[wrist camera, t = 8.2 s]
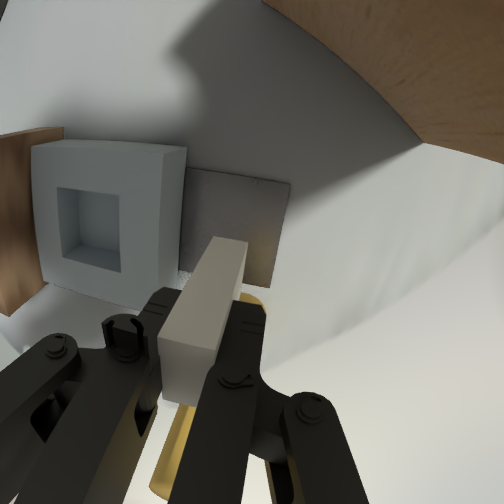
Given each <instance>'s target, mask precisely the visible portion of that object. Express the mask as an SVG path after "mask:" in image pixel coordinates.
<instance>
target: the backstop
mask: <svg viewBox="0 0 504 504" xmlns="http://www.w3.org/2000/svg"><path fill="white" fill-rule="evenodd" d="M63 128H64V127H46V128H36V129H30V130H24V131H19V132H14V133H9V134H4V135H0V313H2V314H4V315H6V316H8V317H10V316H11V315H12V314H13V313H14V312H15V311H16V310H17V309H18V308H20V307H21V306H22V305H23V304H24V303H25V302H26V301H28V300H29V299H30V298H31V297H32V296H33V295H35V294H36V293H37V292H38V291H39V290H41V289H42V288H43V287H44V286H45V285H47V284H48V282H46V281H43V276H42V270H41V265H40V259H39V252H38V246H37V238H36V231H35V222H34V211H33V199H32V181H31V146H35V145H40V144H44V143H49V142H54V141H59V140H63Z"/></svg>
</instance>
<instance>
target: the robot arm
mask: <svg viewBox="0 0 504 504" xmlns="http://www.w3.org/2000/svg"><path fill="white" fill-rule="evenodd" d="M6 3H7V0H0V19H1V16H2V14H3V11H4V9H5V6H6ZM247 247H248V242H244V241H239V240H233V239H228V238H222V237H216V236H213V238H212V240H211V241H210V243H209V245H208V247H207V248H206V250H205V252H204V253H203V255H202V257H201V259H200V260H199V262H198V264H197V266H196V267H195V269H194V271H193V273H192V274H191V276H190V278H189V280H188V282H187V283H186V285H185V287H184V289H183V290H178V289H173V288H168V287H162V288H161V289H159V290H157V291H156V292H154V293H153V294H152V296H151V297H150V299H149V300H148V302H147V304H146V305H145V306H144V307H143V309H142V311H141V312H140V313H139V315H138V316H136V315H132V314H117V315H114V316H111V317H109V318H107V319H106V320H105V321H103V322H102V323H101V324H102V329H103V334H104V339H105V344H106V347H105V348H104V349H90V348H78V346H77V343H76V341H75V340H74V339H73V337H71V336H69V335H67V334H62V333H56V334H51V335H48V336H46V337H45V338H43V339H41V340H40V341H39V342H38V343H36V344H35V345H34V346H32V347H31V348H30V349H29V350H27V351H26V352H25V353H23V354H22V355H21V356H20V357H18V358H17V359H16V360H15V361H14V362H12V363H11V364H10V365H8V366H7V367H6V368H5V369H3V370H2V371H1V372H0V504H9V503H10V502H11V501H12V500H13V498H14V497H15V496H16V495H17V494H18V493H19V494H18V496H17V498H16V500H15V502H14V504H122V503H123V501H124V498H125V495H126V492H127V490H128V487H129V485H130V482H131V479H132V476H133V474H134V471H135V469H136V466H137V463H138V461H139V458H140V456H141V453H142V450H143V448H144V445H145V443H146V440H147V437H148V435H149V432H150V430H151V427H152V425H153V422H154V420H155V417H156V415H157V409H158V405H157V400H158V397H159V395H160V393H161V390H162V398H163V399H164V400H168V401H172V402H176V403H179V404H183V405H187V406H192V407H196V411H195V414H194V417H193V421H192V424H191V427H190V430H189V434H188V437H187V440H186V443H185V447H184V450H183V453H182V457H181V460H180V463H179V466H178V470H177V473H176V476H175V480H174V483H173V486H172V490H171V493H170V496H169V500H168V503H167V504H241V500H242V494H243V487H244V482H245V475H246V469H247V463H248V456H249V453H250V454H253V455H255V456H257V457H259V458H261V459H264V460H265V466H266V472H267V478H268V483H269V489H270V494H271V499H272V504H369V502H368V499H367V496H366V493H365V491H364V487H363V485H362V482H361V479H360V476H359V473H358V470H357V468H356V465H355V462H354V459H353V456H352V454H351V451H350V448H349V446H348V443H347V440H346V437H345V435H344V432H343V429H342V426H341V424H340V421H339V418H338V416H337V413H336V410H335V408H334V407H333V405H332V403H331V402H330V401H329V400H327V399H326V398H325V397H324V396H321V395H319V394H316V393H313V392H301V393H296V394H294V395H293V396H291V397H289V396H286V395H284V394H282V393H279V392H277V391H275V390H273V389H272V388H270V387H269V386H268V385H267V384H266V383H265V382H264V381H263V379H262V377H261V374H260V361H261V353H262V345H263V338H264V330H265V322H266V313H265V311H264V309H263V307H262V305H259V304H253V303H248V302H243V301H239V298H240V293H241V286H242V280H243V273H244V267H245V260H246V253H247Z"/></svg>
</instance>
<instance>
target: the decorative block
mask: <svg viewBox="0 0 504 504" xmlns="http://www.w3.org/2000/svg"><path fill="white" fill-rule="evenodd" d="M262 1H263V2H265V3H266V4H268V5H269V6H271V7H273V8H274V9H276V10H277V11H279V12H280V13H282V14H283V15H285V16H286V17H287V18H289V19H290V20H292V21H293V22H295V23H296V24H297V25H299V26H300V27H301V28H303V29H304V30H306V31H307V32H308V33H310V34H311V35H312V36H313V37H315V38H316V39H317V40H319V41H320V42H321V43H322V44H324V45H325V46H326V47H327V48H329V49H330V50H331V51H332V52H333V53H335V54H336V55H337V56H338V57H339V58H341V59H342V60H343V61H344V62H345V63H346V64H347V65H349V66H350V67H351V68H352V69H353V70H354V71H355V72H356V73H358V74H359V75H360V76H361V77H362V78H363V79H364V80H365V81H366V82H367V83H368V84H369V85H370V86H371V87H372V88H373V89H375V90H376V91H377V92H378V93H379V94H380V95H381V96H382V97H383V98H384V99H385V100H386V101H387V103H388V104H389V105H390V106H391V107H392V108H393V109H394V110H395V111H396V112H397V113H398V114H399V115H400V116H401V117H402V118H403V120H404V121H405V122H406V123H407V124H408V125H409V126H410V127H411V129H412V130H413V131H414V132H415V133H416V134H417V135H418V137H419V138H420V139H421V140H422V141H423V142H424V143H428V144H432V145H436V146H441V147H445V148H449V149H453V150H457V151H461V152H464V153H468V154H472V155H475V156H479V157H482V158H485V159H489V160H492V161H495V162H498V163H501V164H504V0H262Z"/></svg>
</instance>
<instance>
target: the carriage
mask: <svg viewBox="0 0 504 504" xmlns="http://www.w3.org/2000/svg"><path fill="white" fill-rule="evenodd" d="M186 155H187V147H181V146H172V145H162V144H150V143H138V142H123V141H106V140H78V139H64V140H59V141H54V142H49V143H44V144H40V145H35V146H31V181H32V199H33V211H34V222H35V231H36V238H37V246H38V252H39V259H40V265H41V270H42V276H43V281H46V282H48V283H51V284H54V285H57V286H60V287H63V288H66V289H69V290H72V291H75V292H78V293H81V294H84V295H87V296H91V297H94V298H97V299H100V300H103V301H107V302H110V303H113V304H117V305H120V306H124V307H127V308H131V309H134V310H138V311H142V309H143V307H144V306H145V305H146V304H147V302H148V300H149V299H150V297H151V296H152V294H153V293H154V292H156V291H157V290H159V289H161V288H162V287H168V288H173V289H176V288H177V284H178V259H179V240H180V224H181V210H182V198H183V186H184V175H185V165H186Z"/></svg>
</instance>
